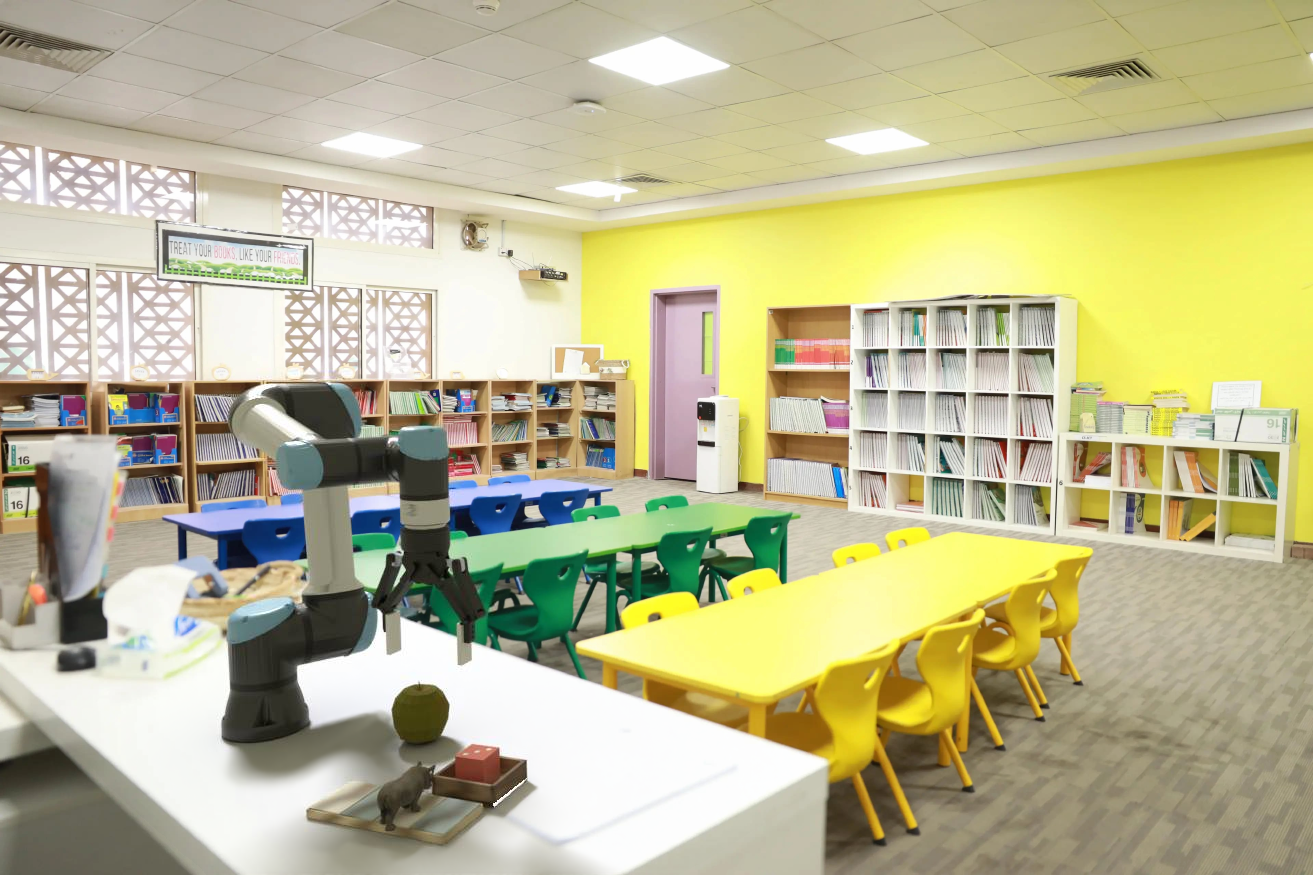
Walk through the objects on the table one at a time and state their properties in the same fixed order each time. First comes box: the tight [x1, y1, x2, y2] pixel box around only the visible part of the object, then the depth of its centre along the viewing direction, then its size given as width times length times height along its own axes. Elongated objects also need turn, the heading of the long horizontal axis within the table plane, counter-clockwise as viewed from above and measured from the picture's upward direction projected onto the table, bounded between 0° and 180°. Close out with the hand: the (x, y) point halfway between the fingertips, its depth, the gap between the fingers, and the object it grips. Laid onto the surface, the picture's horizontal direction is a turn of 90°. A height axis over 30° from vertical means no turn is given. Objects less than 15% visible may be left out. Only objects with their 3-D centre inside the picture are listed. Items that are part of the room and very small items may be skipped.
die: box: [454, 743, 501, 784], centre depth 139 cm, size 5×5×5 cm
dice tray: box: [431, 755, 528, 809], centre depth 139 cm, size 11×10×3 cm
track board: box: [305, 780, 484, 846], centre depth 131 cm, size 24×10×1 cm, turn 69°
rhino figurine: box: [377, 760, 436, 831], centre depth 130 cm, size 4×14×6 cm, turn 162°
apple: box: [391, 681, 451, 745], centre depth 158 cm, size 10×10×11 cm
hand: (428, 657), depth 140 cm, fingers open, 13 cm apart
